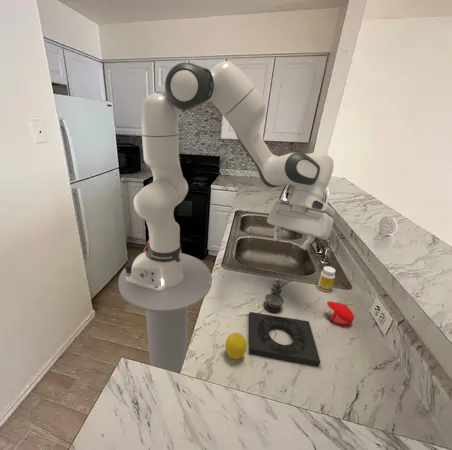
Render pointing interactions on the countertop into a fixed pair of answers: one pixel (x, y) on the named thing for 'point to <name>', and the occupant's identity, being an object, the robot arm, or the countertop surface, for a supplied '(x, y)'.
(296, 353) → the pad
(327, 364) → the countertop surface
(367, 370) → the countertop surface
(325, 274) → the supplement bottle
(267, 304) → the dark grey statuette
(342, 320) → the cap
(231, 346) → the lemon
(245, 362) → the countertop surface
